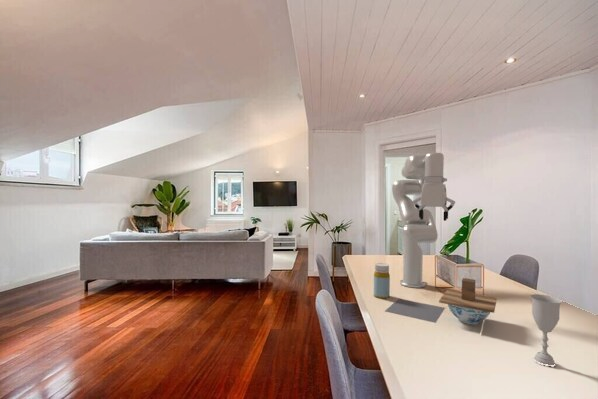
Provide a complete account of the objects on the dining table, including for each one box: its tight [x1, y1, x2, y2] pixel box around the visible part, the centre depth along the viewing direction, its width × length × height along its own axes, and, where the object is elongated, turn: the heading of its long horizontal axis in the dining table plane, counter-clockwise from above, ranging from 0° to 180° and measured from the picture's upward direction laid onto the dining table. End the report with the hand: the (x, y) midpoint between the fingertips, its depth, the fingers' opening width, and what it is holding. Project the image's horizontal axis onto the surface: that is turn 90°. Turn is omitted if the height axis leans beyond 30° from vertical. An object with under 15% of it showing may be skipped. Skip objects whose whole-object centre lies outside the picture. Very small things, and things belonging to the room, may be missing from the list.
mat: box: [384, 298, 446, 323], centre depth 126 cm, size 19×19×1 cm
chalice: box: [529, 294, 563, 365], centre depth 87 cm, size 7×7×18 cm
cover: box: [438, 277, 498, 314], centre depth 115 cm, size 17×17×8 cm
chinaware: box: [447, 304, 491, 325], centre depth 115 cm, size 15×15×8 cm
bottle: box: [373, 262, 391, 300], centre depth 142 cm, size 7×7×15 cm
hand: (433, 219), depth 137 cm, fingers open, 9 cm apart
